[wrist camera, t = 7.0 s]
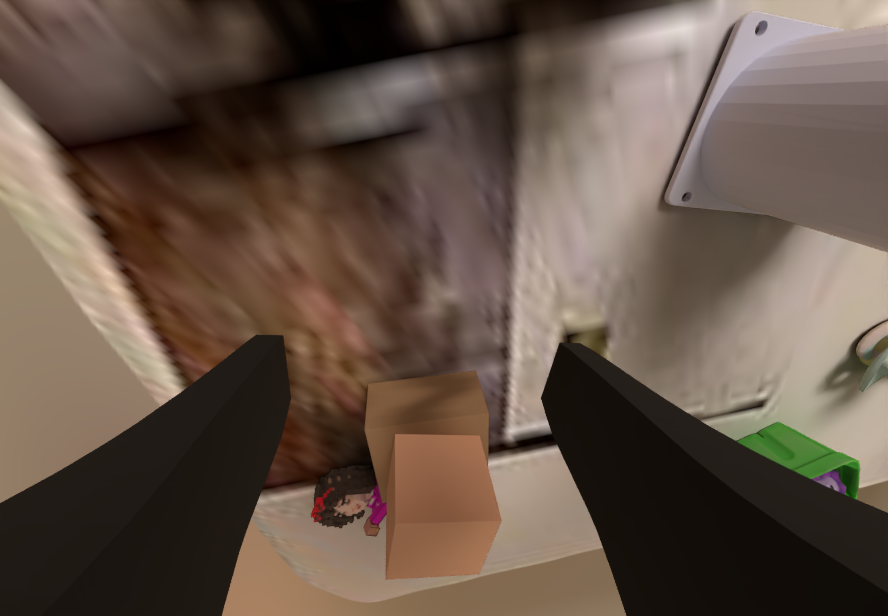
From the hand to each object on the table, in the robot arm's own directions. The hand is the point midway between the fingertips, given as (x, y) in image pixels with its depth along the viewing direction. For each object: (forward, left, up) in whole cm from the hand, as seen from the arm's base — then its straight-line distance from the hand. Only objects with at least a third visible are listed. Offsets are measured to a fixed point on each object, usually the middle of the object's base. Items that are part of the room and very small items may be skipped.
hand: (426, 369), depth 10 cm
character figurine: (0, +20, -11) cm, 23 cm away
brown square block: (-2, +13, -11) cm, 17 cm away
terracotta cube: (-2, +13, -7) cm, 15 cm away
